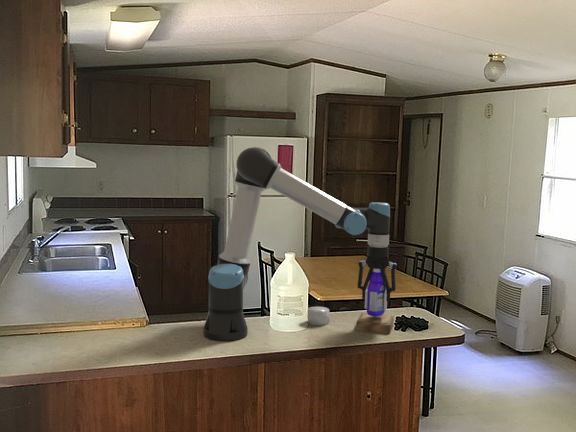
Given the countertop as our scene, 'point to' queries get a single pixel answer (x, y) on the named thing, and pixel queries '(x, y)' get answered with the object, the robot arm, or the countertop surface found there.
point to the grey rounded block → (318, 315)
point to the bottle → (376, 294)
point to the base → (375, 323)
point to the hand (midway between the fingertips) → (375, 308)
